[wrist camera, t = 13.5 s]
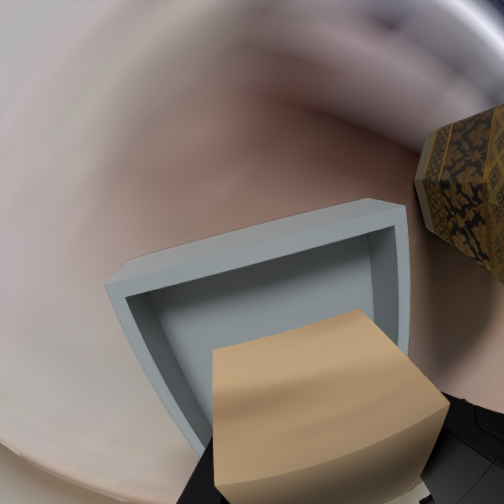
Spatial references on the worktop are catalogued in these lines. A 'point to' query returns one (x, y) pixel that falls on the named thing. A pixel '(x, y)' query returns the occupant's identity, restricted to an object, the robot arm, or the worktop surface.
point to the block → (321, 416)
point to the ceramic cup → (466, 187)
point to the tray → (258, 295)
